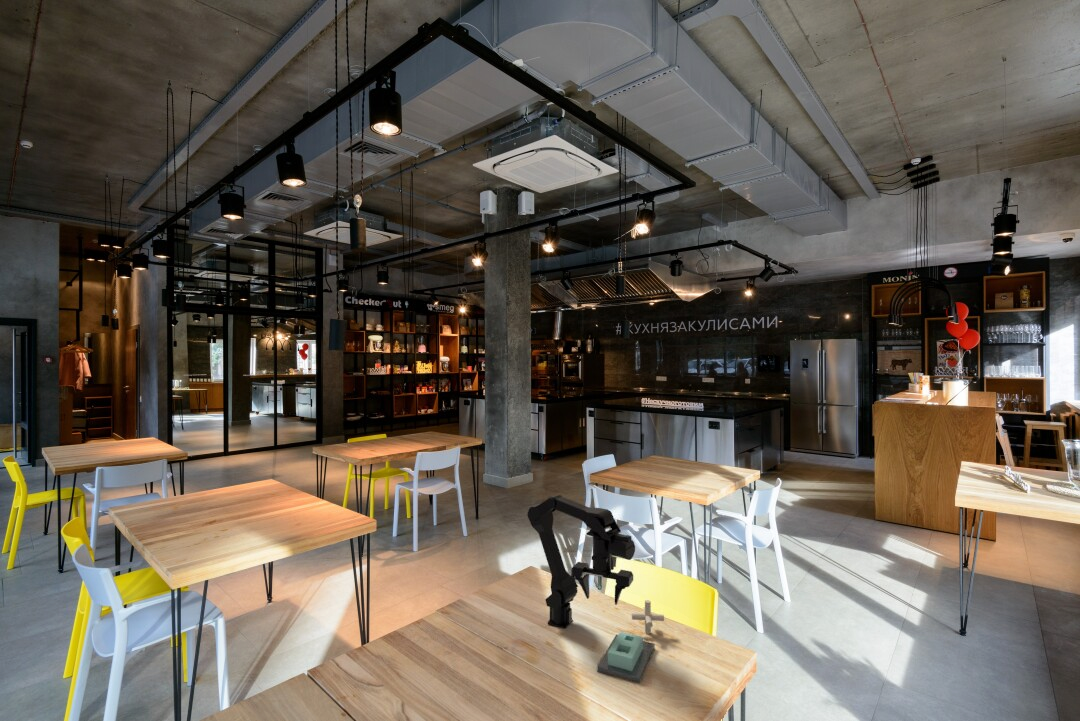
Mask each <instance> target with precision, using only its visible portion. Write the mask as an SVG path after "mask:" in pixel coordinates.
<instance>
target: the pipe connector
mask: <svg viewBox="0 0 1080 721" xmlns="http://www.w3.org/2000/svg"><path fill="white" fill-rule="evenodd" d="M651 604H652V602H651V600H648V599H646V600H644V607H643V613H637V612H634V613H633V612H631V620H633V621H635V620H636V621H644V633H645V634H646V635H650V634H651V633H652V632H651V631H652V630H651V629H652V628H653V626H654V625H653V621H656V622H657V621H659V622H664V621H665V615H664V614H658V613H656V614H655V613H652V612H651V611H652V610H651V608H652V607H651V606H652V605H651Z"/></svg>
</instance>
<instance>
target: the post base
mask: <svg viewBox="0 0 1080 721" xmlns="http://www.w3.org/2000/svg"><path fill="white" fill-rule="evenodd" d="M617 636H618V634H615V636H614V638H613V639H612V641H611V642H610V644H609V646H608V648H607V650H606V651H605V653H604V654H603V656H602V657H601V659H600V661H599V662H598V664H597V667H596V668H597V669H596V670H597V673H601V674H604V675H607V676H608V675H609V676H612V677H616V678H619V679H623V680H626V681H629V682H633V683H638V684H640V683H641V682H642V678H643V677H644V674H645V672H646V670H647V667H648V665H649V664H650V660H651V658H652V655H653V653H654V651H655V649H656V648H655V647H656V646H655V645H656V644H655V643H653V642H649V641H645V640H643V650H642V652H641V654H640V656H639V658H638V660H637V662H636V664H635V666H634V668H633V670H632V671H629V670H626V669H622V668H618V667H615V666H611V665H608V651H609V649H610V648H611V646H612V644H613V643H614V641H615V639H616V638H617ZM620 652H623V653H627V654H628V652H627V651H625V650H621V651H620Z"/></svg>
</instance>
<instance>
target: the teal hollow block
mask: <svg viewBox="0 0 1080 721" xmlns="http://www.w3.org/2000/svg"><path fill="white" fill-rule="evenodd" d="M617 635H618V636H617V638H616V639H615V641H614V643H613V644H612V646H611V648H610V649H609V651H608V665H611V666H615V667H618V668H622V669H626V670H629V671H632V670H633V668H634V666H635V664H636V662H637V660H638V658H639V656H640V654H641V652H642V650H643V641H644V637H643V636H641V635H637V634H633V633H632V634H631V633H628V632H624V631H620V632H619V633H618V634H617ZM621 650H625V651H627V652H628V654H627V653H623V652H620V651H621Z"/></svg>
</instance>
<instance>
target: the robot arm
mask: <svg viewBox="0 0 1080 721" xmlns="http://www.w3.org/2000/svg"><path fill="white" fill-rule="evenodd" d="M556 511H557V512H560V513H563V514H565V515H568V516H570V517H573V518H575V519H577V520H579V521H581V522H583V523H584V524H585V526H586V527H587V528H589V530H588V532H586V535H587V536H589V537H592V556H591V557H590V558H591V559H590V560H592V568H591V567H590V565H589V563H587V562H582V561H578V562H576V563H575V564H574V565H573V566H572V567H571V570H570V573H568V571H567V570H566V566H565V564H564V561H563V557H562V554H561V551H560V549H559V545H558V542H557V539H556V536H555V533H554V528H553V525H554V515H553V513H554V512H556ZM527 518H528V521H529V522H530V525H531V527H532V529H534V530H535V532H537V533H538V536H539V539H540V542H541V547H542V548H543V552H544V555H545V558H546V562H547V565H548V567H549V571H550V574H551V580H550V591H551V594H550V595H548V596H547V598H545V604H546V607H548V608H549V620H548V621H547V625H550V626H554V627H559V628H562V629H566V628H567V627H568V625H570V623H571V622H572V620H573V615H572V614H573V613H572V612H573V610H572V608H571V602H573V601H574V598H575V597H576V596H577V593H578V587H579V586H578V583H579V585H580V586H581V589H582V591H583V593H584V595H585V597H586V599H587V600H588V599H590V582H589V581H590V580H589V579H590V576H595V577H599V578H606V579H611V580H615V585H614V605H616V606H617V605H618V602H619V599H620V597H621V594H622V590H625V589H626V588H630V586H631V585H632V583H633V581H634V573H633V572H632V571H630V570H625V569H620V570H619V571H618V572H614V571H613V570H614V569H615V568H617V558H622V559H625V560H628V561H630V560H632V559H633V557H634V555H635V553H636V545H635V542H634V541H633V539H632V536H631V535H628V534H622V530H621V528H620V527H619V525H618V523H617V521H616V520H615V517H614V515H613V512H612V511H611V510H609V509H607V508H601V507H590V506H586V505H585V504H581V503H578V502H576V501H574V500H571V499H568V498H566V497H563V496H562V495H561V494H554V495H553V496H550V497H548V498H547V499H546V500H544V501H542V502H541V503H539V504H536V505H533V506H531V507H529V509H528V510H527ZM609 528H610V529H609ZM608 529H609V530H608ZM606 530H607V531H606ZM576 581H577V582H578V583H577V582H576Z"/></svg>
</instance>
